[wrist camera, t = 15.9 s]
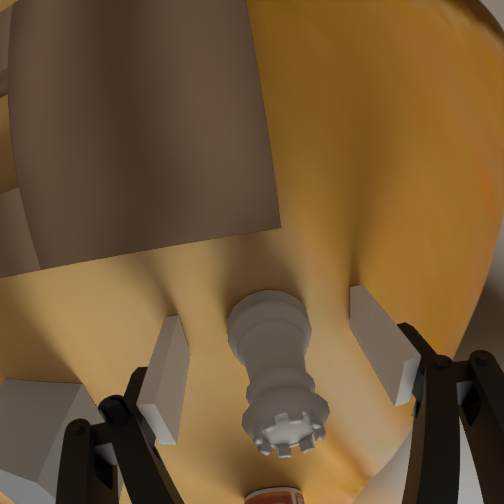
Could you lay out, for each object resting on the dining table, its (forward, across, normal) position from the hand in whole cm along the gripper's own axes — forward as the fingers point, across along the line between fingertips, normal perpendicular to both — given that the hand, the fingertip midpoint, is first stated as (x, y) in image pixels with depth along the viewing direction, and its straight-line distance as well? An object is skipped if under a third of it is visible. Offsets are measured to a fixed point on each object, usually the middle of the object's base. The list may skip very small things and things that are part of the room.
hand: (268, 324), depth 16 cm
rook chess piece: (0, 0, 0) cm, 0 cm away
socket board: (0, -9, +13) cm, 16 cm away
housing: (0, -18, -8) cm, 20 cm away
